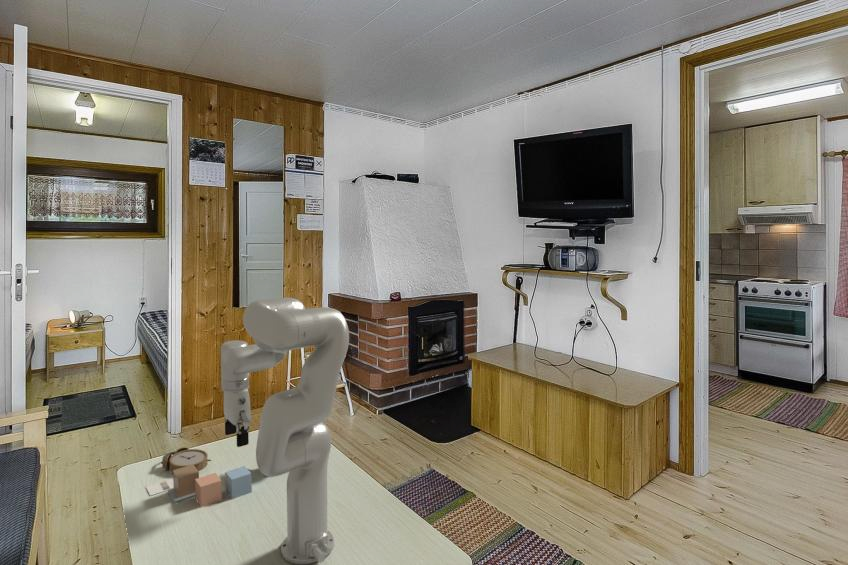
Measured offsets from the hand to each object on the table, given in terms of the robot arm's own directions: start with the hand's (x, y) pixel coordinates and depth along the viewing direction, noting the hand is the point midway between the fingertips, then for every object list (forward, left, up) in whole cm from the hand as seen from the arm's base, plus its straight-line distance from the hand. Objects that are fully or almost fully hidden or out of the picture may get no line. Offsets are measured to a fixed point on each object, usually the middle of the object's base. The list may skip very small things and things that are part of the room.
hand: (236, 439), depth 137 cm
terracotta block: (+1, +8, -16) cm, 18 cm away
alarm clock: (+27, +8, -17) cm, 32 cm away
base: (+9, +12, -16) cm, 22 cm away
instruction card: (+17, +16, -16) cm, 28 cm away
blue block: (0, 0, -16) cm, 16 cm away
